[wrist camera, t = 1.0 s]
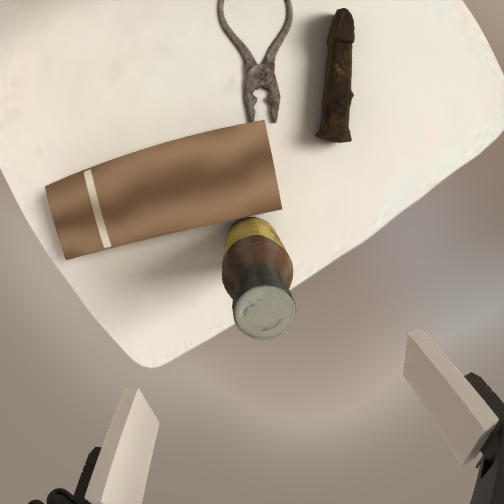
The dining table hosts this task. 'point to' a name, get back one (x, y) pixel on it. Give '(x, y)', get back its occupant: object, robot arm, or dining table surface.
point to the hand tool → (338, 79)
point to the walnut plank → (166, 190)
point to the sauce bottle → (258, 279)
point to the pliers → (262, 72)
